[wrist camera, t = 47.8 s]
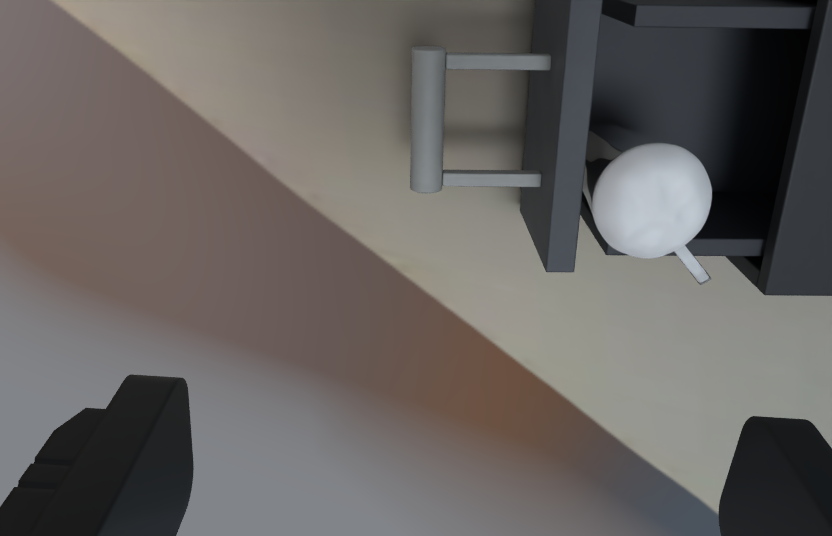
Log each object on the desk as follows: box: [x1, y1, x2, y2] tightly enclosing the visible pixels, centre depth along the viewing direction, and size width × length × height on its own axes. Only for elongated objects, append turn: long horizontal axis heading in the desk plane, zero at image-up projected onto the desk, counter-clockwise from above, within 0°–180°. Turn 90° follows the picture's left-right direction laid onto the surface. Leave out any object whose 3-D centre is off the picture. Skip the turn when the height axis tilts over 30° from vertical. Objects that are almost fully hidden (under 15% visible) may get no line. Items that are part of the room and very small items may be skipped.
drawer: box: [410, 0, 818, 272], centre depth 33 cm, size 19×11×8 cm, turn 89°
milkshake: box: [583, 122, 712, 285], centre depth 32 cm, size 4×5×10 cm
